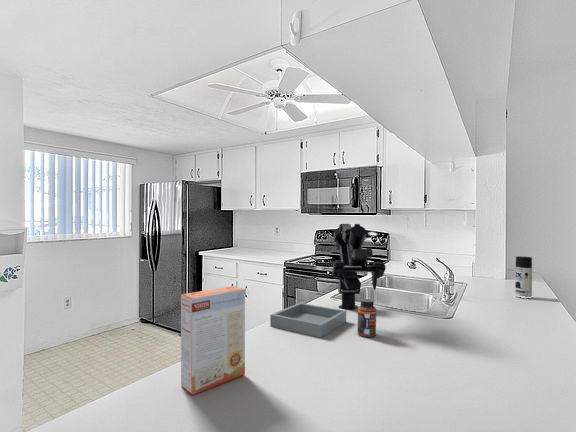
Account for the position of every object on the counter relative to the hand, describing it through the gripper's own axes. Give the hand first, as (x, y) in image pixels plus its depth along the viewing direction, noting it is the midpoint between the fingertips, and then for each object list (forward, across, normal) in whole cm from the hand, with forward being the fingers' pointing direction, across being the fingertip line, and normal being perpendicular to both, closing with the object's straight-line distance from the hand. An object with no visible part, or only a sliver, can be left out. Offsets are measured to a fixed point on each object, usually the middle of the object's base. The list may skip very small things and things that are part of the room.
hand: (361, 289), depth 117 cm
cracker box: (+37, -43, -18) cm, 60 cm away
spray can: (-24, +90, +43) cm, 103 cm away
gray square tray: (+7, -18, +12) cm, 23 cm away
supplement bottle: (+15, 0, +4) cm, 16 cm away
